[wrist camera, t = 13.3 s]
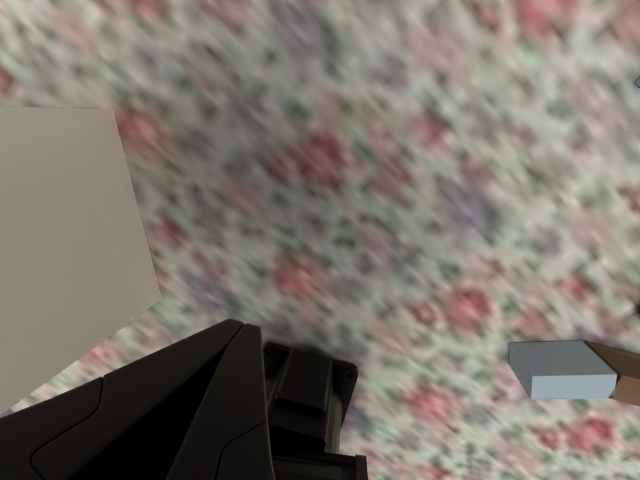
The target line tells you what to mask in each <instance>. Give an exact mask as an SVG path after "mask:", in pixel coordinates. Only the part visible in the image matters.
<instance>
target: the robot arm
mask: <svg viewBox="0 0 640 480" xmlns="http://www.w3.org/2000/svg"><path fill="white" fill-rule="evenodd" d="M267 349H268V350H271V351H272V352H268V351H267ZM347 372H353V374H349V373H347ZM357 377H358V369H357V367H356V366H354V365H351V364H348V363H344V362H340V361H337V360H333V359H330V358H327V357H323V356H319V355H316V354H312V353H308V352H304V351H301V350H297V349H292V348H288V347H285V346H281V345H277V344H274V343H266V344H265V345H264V346H263V348H262V334H261V327H259V326H256V325H252V324H248V323H246V324H244V323H243V322H241V321H237V320H233V319H227V320H225V321H222V322H220V323H218V324H216V325H214V326H211V327H209V328H207V329H205V330H203V331H200V332H198V333H196V334H194V335H192V336H189V337H187V338H185V339H183V340H181V341H178V342H176V343H174V344H172V345H170V346H167V347H165V348H163V349H161V350H159V351H156V352H154V353H152V354H150V355H147V356H145V357H143V358H141V359H139V360H136V361H134V362H132V363H130V364H128V365H125V366H123V367H121V368H119V369H117V370H114V371H112V372H110V373H108V374H106V375H104V377H103V378H102V377H99V378H97V379H94V380H92V381H90V382H88V383H85V384H83V385H81V386H79V387H76V388H74V389H72V390H69V391H67V392H65V393H62V394H60V395H58V396H55V397H53V398H51V399H48V400H46V401H43V402H40V403H38V404H35V405H33V406H30V407H28V408H25V409H23V410H20V411H17V412H15V413H12V414H10V415H7V416H4V417H1V418H0V480H368V475H367V462H366V456H363V455H355V456H348V455H342V454H339V444H340V431H341V427H342V424H343V421H344V418H345V415H346V412H347V408H348V405H349V402H350V399H351V396H352V393H353V390H354V387H355V384H356V381H357Z"/></svg>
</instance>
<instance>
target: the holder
mask: <svg viewBox="0 0 640 480" xmlns="http://www.w3.org/2000/svg"><path fill="white" fill-rule="evenodd" d="M635 84H636V85H637V86H638V87H640V78H639V79H638V80H637V81H636V83H635ZM509 365H510V367H511V368H512V370H513V372H514V373H515V375H516V376H517V378H518V380H519V381H520V383H521V384H522V386H523V388H524V389H525V391H526V392H527V394H528V396H529V397H530V399H609V398H611V399H614V400H618V401H622V402H626V403H629V404H633V405H637V406H640V355H639V354H635V353H631V352H627V351H623V350H619V349H615V348H612V347H608V346H604V345H600V344H596V343H592V342H588V341H586V342H585V343H584V342H583V341H582V340H578V341H550V342H522V343H509Z"/></svg>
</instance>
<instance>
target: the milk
mask: <svg viewBox="0 0 640 480" xmlns="http://www.w3.org/2000/svg"><path fill="white" fill-rule="evenodd" d="M160 300H162V297H161V293H160V289H159V285H158V282H157V278H156V274H155V270H154V266H153V262H152V258H151V255H150V251H149V247H148V243H147V239H146V235H145V232H144V228H143V224H142V220H141V216H140V212H139V208H138V205H137V201H136V197H135V193H134V189H133V185H132V181H131V178H130V174H129V170H128V166H127V162H126V158H125V155H124V151H123V147H122V143H121V139H120V135H119V131H118V128H117V124H116V120H115V116H114V112H113V109H85V108H44V107H4V106H0V415H1V414H2V413H4V412H5V411H6V410H8V409H9V408H11V407H12V406H14V405H15V404H16V403H18V402H19V401H21V400H22V399H23V398H25V397H26V396H27V395H29V394H30V393H32V392H33V391H34V390H36V389H37V388H39V387H40V386H41V385H43V384H44V383H46V382H47V381H48V380H50V379H51V378H53V377H54V376H55V375H57V374H58V373H60V372H61V371H62V370H64V369H65V368H67V367H68V366H69V365H71V364H72V363H74V362H75V361H76V360H78V359H79V358H81V357H82V356H83V355H85V354H86V353H88V352H89V351H90V350H92V349H93V348H95V347H96V346H97V345H99V344H100V343H102V342H103V341H104V340H106V339H107V338H109V337H110V336H111V335H113V334H114V333H116V332H117V331H118V330H120V329H121V328H123V327H124V326H125V325H127V324H128V323H130V322H131V321H132V320H134V319H135V318H137V317H138V316H139V315H141V314H142V313H144V312H145V311H146V310H148V309H149V308H151V307H152V306H153V305H155V304H156V303H158V302H159V301H160Z"/></svg>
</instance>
